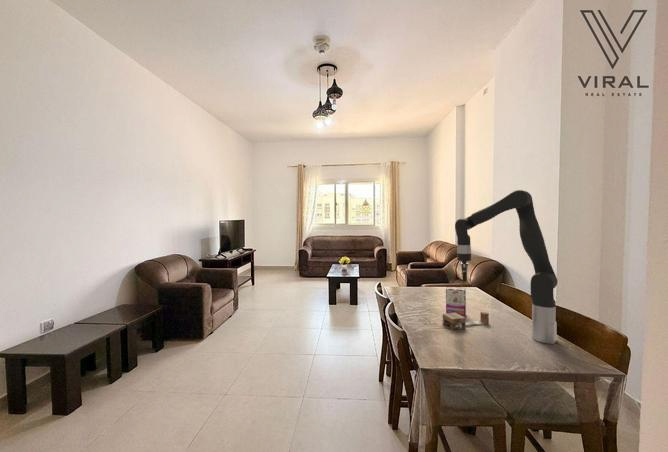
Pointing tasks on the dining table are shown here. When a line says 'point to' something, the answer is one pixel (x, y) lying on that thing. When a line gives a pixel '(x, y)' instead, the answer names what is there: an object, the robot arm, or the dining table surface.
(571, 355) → the dining table surface
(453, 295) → the candy bar box
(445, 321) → the walnut cabinet
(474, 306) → the dining table surface
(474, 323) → the brown l-shaped stand
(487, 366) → the dining table surface
